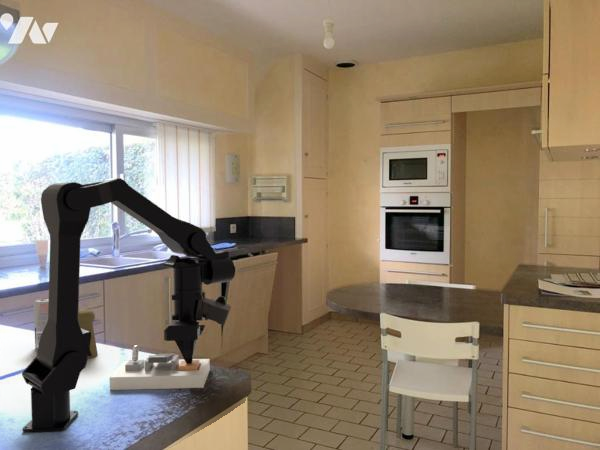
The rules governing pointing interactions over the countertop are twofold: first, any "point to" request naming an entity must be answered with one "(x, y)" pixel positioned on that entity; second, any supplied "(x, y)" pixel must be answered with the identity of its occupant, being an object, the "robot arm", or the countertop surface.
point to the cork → (88, 328)
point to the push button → (189, 366)
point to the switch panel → (158, 375)
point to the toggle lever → (135, 353)
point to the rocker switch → (161, 358)
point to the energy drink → (40, 318)
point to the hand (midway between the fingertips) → (189, 363)
